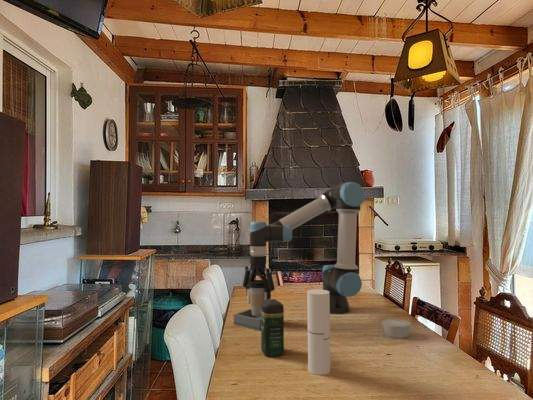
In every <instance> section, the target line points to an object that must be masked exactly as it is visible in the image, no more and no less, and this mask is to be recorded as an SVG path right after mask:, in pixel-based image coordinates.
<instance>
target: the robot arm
mask: <svg viewBox="0 0 533 400" xmlns="http://www.w3.org/2000/svg"><path fill="white" fill-rule="evenodd" d="M365 198H366V193H365V190H364V188H363V187H362V186H361V185H360V184H359V183H357V182H353V181H348V182H343V183H338V184H335V185H334V186H332V187H330V188H329V189H327V190H326V191H324V192H323V193H320V194H319V197H318V198H316V199H314V200H313V201H310V202H309V203H307V204H305V205H303V206H302V207H299V208H298V209H296V210H294V211H292V212H291V213H290V214H287V215H286V216H284V217H282V218H280V219H279V220H277V221H275V222H273V223H271V224H268V225H267V222H266V221H251V222H250V224H249V225H250V227H249V254H250V256H249V264H250V265H246V266H245V267H244V270H245V273H244V275H243V277H244V278H243V283H242V287H243V288H245V291H246V293H245V294H246V296H247V299H246V303H247V304H250V293H249V292H250V290H249V287H248V284H249V283H250V281H253V280H256V276H258V277H259V278H260V280H262V282H263V285H264V287H265V290H266V292H265V300H267V299H271V298H272V297H271V296H272V295H271V294H272V293H271V292H273V291H275V290H276V289H275V284H274V278H273V275H272V271H273V269H272V268H271V267H270V268H269V267H267V265H266V264H267V243H285V242H286V243H287V242H291V241H292V239H293V230H294V229H296V228H298V227H300V226H301V225H304V224H305V223H307V222H308V221H310V220H312V219H314V218H316V217H317V216H320V215H321V214H323V213H324V212H326V211H327V212H330V211H332V210H334V209H335V210H336V212H337V213H338V223H337V224H338V226H337V227H338V228H337V256H336V259H337V260H336V263H335V264H326V265H325V264H324V265H323V266H322V271H321V273H322V290H327V291H329V292H330V314H345V313H348V312H350V303H349V301H348V298H350V297H354V296H356V295H357V294H359V292H360V291H361V289H362V285H363V282H362V278H361V277H360V275H359V266H357V264H356V251H357V250H356V249H357V247H356V246H357V224H358V220H357V218H358V214H359V213H360V212H361V205H362V204H363V203H364V201H365Z"/></svg>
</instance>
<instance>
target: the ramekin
mask: <svg viewBox="0 0 533 400" xmlns="http://www.w3.org/2000/svg"><path fill="white" fill-rule="evenodd" d="M381 324H382V328H383V333H384V334H385V336H387V337H390V338H392V337H393V339H407V338H409V336H410V333H411V332H410V331H411V327H412V323H411V322H410V321H408V320H406V319H402V318H394V317H393V318H392V317H391V318H385V319H383V320H382V321H381ZM406 337H407V338H406Z"/></svg>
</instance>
